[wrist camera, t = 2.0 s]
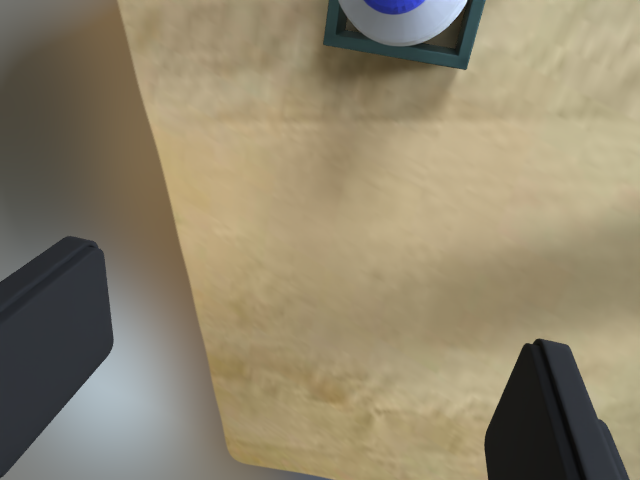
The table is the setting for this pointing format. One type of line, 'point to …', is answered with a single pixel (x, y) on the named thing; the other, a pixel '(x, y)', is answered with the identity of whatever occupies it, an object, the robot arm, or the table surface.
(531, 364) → the robot arm
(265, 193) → the table surface
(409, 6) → the bottle
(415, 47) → the tray
